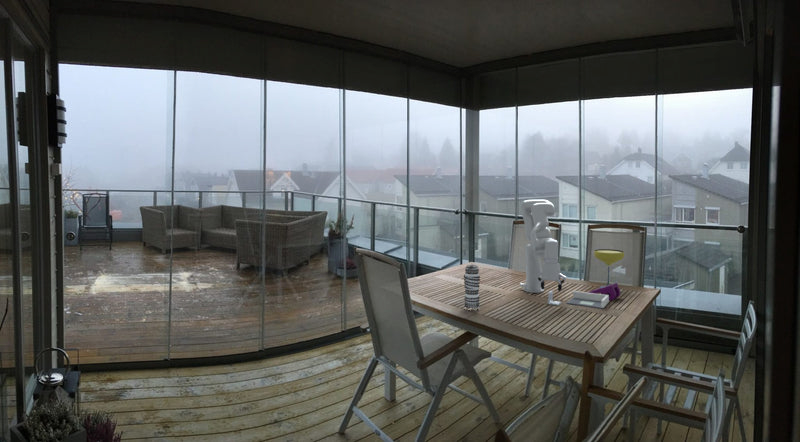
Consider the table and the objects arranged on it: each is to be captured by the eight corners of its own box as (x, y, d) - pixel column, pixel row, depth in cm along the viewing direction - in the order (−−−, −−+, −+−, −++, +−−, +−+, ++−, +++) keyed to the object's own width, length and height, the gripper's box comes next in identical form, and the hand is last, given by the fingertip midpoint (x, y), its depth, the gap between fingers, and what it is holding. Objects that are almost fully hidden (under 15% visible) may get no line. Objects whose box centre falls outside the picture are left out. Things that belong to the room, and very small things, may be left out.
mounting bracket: (589, 306, 286) (617, 298, 274) (583, 293, 288) (611, 285, 276) (595, 303, 293) (622, 295, 280) (590, 291, 294) (616, 282, 282)
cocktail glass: (624, 287, 311) (625, 250, 309) (621, 292, 296) (622, 254, 294) (596, 284, 321) (596, 248, 319) (591, 289, 306) (592, 252, 304)
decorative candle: (467, 311, 257) (467, 267, 255) (461, 307, 266) (461, 264, 264) (482, 310, 260) (482, 266, 258) (475, 305, 269) (475, 263, 267)
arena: (566, 303, 271) (566, 296, 271) (573, 298, 283) (573, 290, 283) (603, 308, 260) (603, 300, 259) (608, 302, 272) (608, 295, 271)
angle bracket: (547, 304, 271) (548, 292, 270) (551, 301, 276) (551, 290, 275) (558, 305, 268) (558, 293, 267) (561, 303, 272) (561, 291, 272)
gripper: (534, 260, 273) (534, 289, 274) (564, 262, 263) (564, 292, 264) (538, 259, 279) (538, 287, 280) (568, 261, 269) (568, 290, 270)
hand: (551, 289), depth 272 cm, fingers open, 9 cm apart
